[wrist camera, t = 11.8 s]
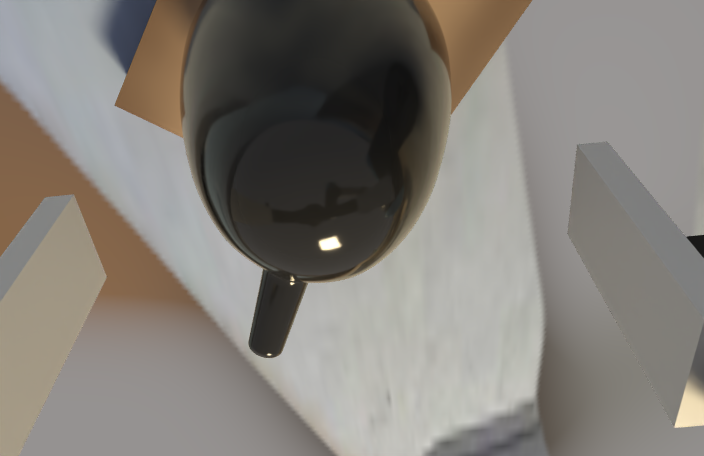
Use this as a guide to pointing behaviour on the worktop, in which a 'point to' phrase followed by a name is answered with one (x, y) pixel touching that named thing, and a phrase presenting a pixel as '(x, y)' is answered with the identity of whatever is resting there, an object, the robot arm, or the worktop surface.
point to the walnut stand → (182, 3)
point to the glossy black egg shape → (313, 136)
